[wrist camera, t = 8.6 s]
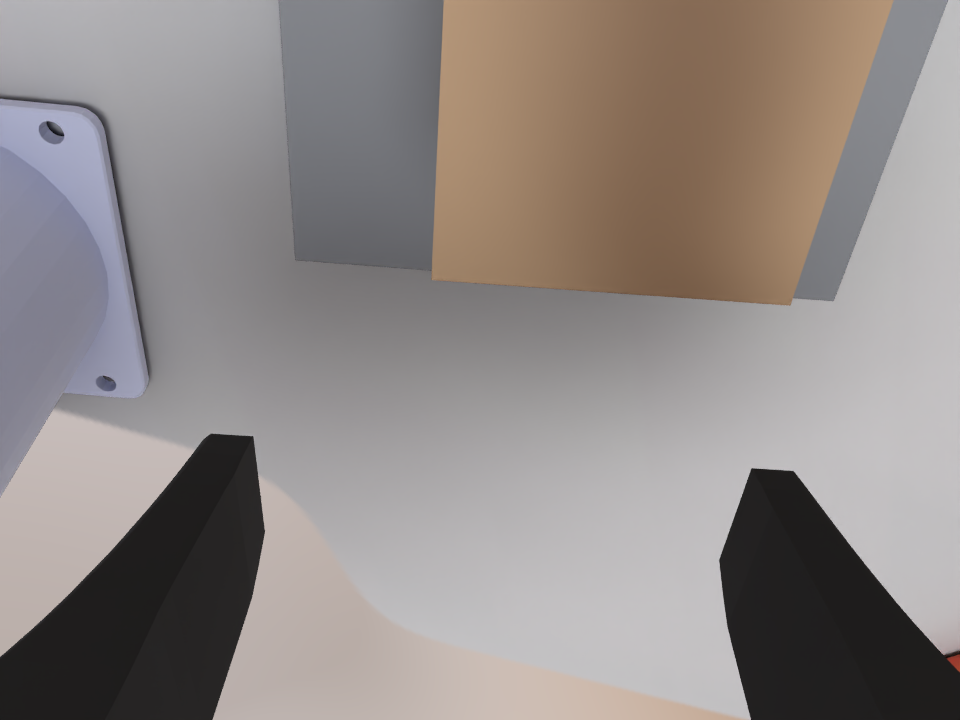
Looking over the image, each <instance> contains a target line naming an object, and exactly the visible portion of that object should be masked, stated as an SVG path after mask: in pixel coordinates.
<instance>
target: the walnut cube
mask: <svg viewBox="0 0 960 720" xmlns="http://www.w3.org/2000/svg"><path fill="white" fill-rule="evenodd" d="M893 1H894V0H444V7H443V29H442V52H441V75H440V97H439V120H438V142H437V165H436V188H435V210H434V233H433V255H432V278H431V280H438V281H452V282H466V283H481V284H495V285H509V286H523V287H537V288H551V289H565V290H579V291H593V292H607V293H621V294H636V295H650V296H664V297H678V298H692V299H706V300H720V301H734V302H748V303H762V304H776V305H791V302H792V299H793V296H794V293H795V290H796V287H797V284H798V281H799V278H800V275H801V272H802V269H803V266H804V263H805V260H806V257H807V254H808V252H809V249H810V246H811V243H812V240H813V237H814V234H815V231H816V228H817V225H818V222H819V219H820V216H821V213H822V210H823V207H824V204H825V201H826V198H827V195H828V193H829V190H830V187H831V184H832V181H833V178H834V175H835V172H836V169H837V166H838V163H839V160H840V157H841V154H842V151H843V148H844V145H845V142H846V139H847V137H848V134H849V131H850V128H851V125H852V122H853V119H854V116H855V113H856V110H857V107H858V104H859V101H860V98H861V95H862V92H863V89H864V86H865V83H866V80H867V78H868V75H869V72H870V69H871V66H872V63H873V60H874V57H875V54H876V51H877V48H878V45H879V42H880V39H881V36H882V33H883V30H884V27H885V24H886V22H887V19H888V16H889V13H890V10H891V7H892V4H893Z"/></svg>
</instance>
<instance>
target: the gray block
mask: <svg viewBox="0 0 960 720" xmlns="http://www.w3.org/2000/svg"><path fill="white" fill-rule="evenodd" d="M947 2H948V0H894V1H893V4H892V7H891V10H890V13H889V16H888V19H887V22H886V24H885V27H884V30H883V33H882V36H881V39H880V42H879V45H878V48H877V51H876V54H875V57H874V60H873V63H872V66H871V69H870V72H869V75H868V78H867V80H866V83H865V86H864V89H863V92H862V95H861V98H860V101H859V104H858V107H857V110H856V113H855V116H854V119H853V122H852V125H851V128H850V131H849V134H848V137H847V139H846V142H845V145H844V148H843V151H842V154H841V157H840V160H839V163H838V166H837V169H836V172H835V175H834V178H833V181H832V184H831V187H830V190H829V193H828V195H827V198H826V201H825V204H824V207H823V210H822V213H821V216H820V219H819V222H818V225H817V228H816V231H815V234H814V237H813V240H812V243H811V246H810V249H809V252H808V254H807V257H806V260H805V263H804V266H803V269H802V272H801V275H800V278H799V281H798V284H797V287H796V290H795V293H794V296H793V298H798V299H811V300H824V301H834V299H835V296H836V294H837V291H838V288H839V286H840V283H841V280H842V278H843V275H844V273H845V270H846V267H847V265H848V262H849V259H850V257H851V254H852V252H853V249H854V246H855V244H856V241H857V238H858V236H859V233H860V231H861V228H862V225H863V223H864V220H865V217H866V215H867V212H868V210H869V207H870V204H871V202H872V199H873V196H874V194H875V191H876V188H877V186H878V183H879V181H880V178H881V175H882V173H883V170H884V167H885V165H886V162H887V160H888V157H889V154H890V152H891V149H892V146H893V144H894V141H895V139H896V136H897V133H898V131H899V128H900V125H901V123H902V120H903V117H904V115H905V112H906V110H907V107H908V104H909V102H910V99H911V96H912V94H913V91H914V89H915V86H916V83H917V81H918V78H919V75H920V73H921V70H922V68H923V65H924V62H925V60H926V57H927V54H928V52H929V49H930V47H931V44H932V41H933V39H934V36H935V33H936V31H937V28H938V25H939V23H940V20H941V18H942V15H943V12H944V10H945V7H946V4H947ZM443 7H444V0H279V13H280V28H281V44H282V60H283V76H284V91H285V107H286V123H287V139H288V154H289V170H290V186H291V201H292V217H293V233H294V249H295V260H299V261H312V262H325V263H339V264H352V265H365V266H378V267H391V268H404V269H417V270H430V271H432V255H433V233H434V210H435V188H436V165H437V142H438V120H439V97H440V75H441V52H442V29H443Z"/></svg>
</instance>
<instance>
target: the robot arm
mask: <svg viewBox="0 0 960 720" xmlns="http://www.w3.org/2000/svg"><path fill="white" fill-rule="evenodd" d="M46 121H51V122H54V123H56V124H57V125H59V126H60V127H61V128H62V130H63V132H64V136H62V137H61V136H58V135H55V134H54V133H52V132H51V131H50V130H49V128H48V126H47V124H46ZM103 376H107V377H110V378H111V379H113V380H114V381H115V382H112V381H108V380H106V379H105V378H104V377H103ZM148 382H149V377H148V371H147V366H146V360H145V354H144V349H143V343H142V338H141V332H140V326H139V321H138V315H137V309H136V304H135V298H134V293H133V287H132V281H131V276H130V270H129V265H128V259H127V253H126V248H125V242H124V236H123V231H122V225H121V220H120V214H119V208H118V203H117V197H116V192H115V186H114V180H113V175H112V169H111V163H110V158H109V152H108V147H107V141H106V135H105V130H104V127H103V125H102V122H101V121H100V120H99V118H98V117H97V116H96V115H95V114H94V113H92V112H91V111H89V110H88V109H86V108H82V107H78V106H70V105H60V104H49V103H39V102H28V101H18V100H7V99H0V497H1V495H2V493H3V492H4V490H5V488H6V487H7V485H8V484H9V482H10V480H11V478H12V477H13V475H14V474H15V472H16V470H17V468H18V467H19V465H20V464H21V462H22V460H23V459H24V457H25V455H26V454H27V452H28V450H29V448H30V447H31V445H32V444H33V442H34V440H35V439H36V437H37V435H38V433H39V432H40V430H41V429H42V427H43V425H44V424H45V422H46V420H47V419H48V417H49V415H50V413H51V412H52V410H53V409H54V407H55V405H56V404H57V402H58V400H59V399H60V397H61V395H62V393H70V394H82V395H93V396H105V397H117V398H137V397H139V396H141V395H142V394H143V393H144V391H145V390H146V388H147V386H148ZM264 534H265V530H264V522H263V513H262V505H261V496H260V488H259V480H258V472H257V463H256V455H255V447H254V439H253V436H238V435H222V434H210V435H209V436H207V437H206V438H205V439H203V441H202V442H201V443H200V445H199V446H198V447H197V449H196V450H195V451H194V453H193V454H192V455H191V457H190V458H189V459H188V461H187V462H186V463H185V465H184V466H183V467H182V468H181V470H180V471H179V472H178V473H177V475H176V476H175V477H174V478H173V480H172V481H171V482H170V483H169V485H168V486H167V487H166V488H165V490H164V491H163V492H162V493H161V494H160V495H159V497H158V498H157V499H156V500H155V502H154V503H153V504H152V505H151V506H150V508H149V509H148V510H147V511H146V512H145V513H144V514H143V515H142V517H141V518H140V519H139V520H138V521H137V522H136V524H135V525H134V526H133V527H132V528H131V529H130V530H129V532H128V533H127V534H126V535H125V536H124V538H123V539H121V541H120V542H119V543H118V544H117V545H116V546H115V547H114V548H113V550H112V551H111V552H110V553H109V554H108V555H107V556H106V557H105V558H104V559H103V560H102V561H101V562H100V563H99V564H98V565H97V566H96V567H95V568H94V569H93V570H92V571H91V572H90V573H89V575H87V576H86V577H85V579H84V580H83V581H82V582H81V583H80V584H79V585H78V586H77V587H76V588H75V589H74V590H73V591H72V592H71V593H70V594H69V595H68V596H67V597H66V598H65V599H64V600H63V601H62V602H61V603H60V604H59V605H57V606H56V607H55V608H54V609H53V610H52V611H51V612H50V613H49V614H48V615H47V616H46V617H45V618H44V619H43V620H42V621H40V622H39V623H38V624H37V625H36V626H35V627H34V628H33V629H32V630H31V631H29V633H27V634H26V635H25V636H24V637H23V638H22V639H20V640H19V641H18V642H17V643H16V644H15V645H14V646H13V647H11V648H10V649H9V650H8V651H7V652H6V653H4V654H3V655H2V656H1V657H0V720H212V719H213V716H214V713H215V710H216V707H217V704H218V701H219V698H220V695H221V692H222V689H223V686H224V682H225V680H226V677H227V673H228V670H229V667H230V664H231V661H232V658H233V655H234V652H235V649H236V646H237V643H238V640H239V637H240V633H241V630H242V627H243V624H244V621H245V617H246V615H247V612H248V608H249V605H250V602H251V599H252V595H253V590H254V585H255V580H256V575H257V570H258V566H259V560H260V555H261V549H262V544H263V539H264ZM719 562H720V571H721V580H722V589H723V597H724V604H725V612H726V619H727V626H728V630H729V634H730V638H731V643H732V647H733V651H734V654H735V658H736V662H737V666H738V670H739V674H740V678H741V682H742V686H743V690H744V694H745V698H746V701H747V705H748V709H749V713H750V717H751V720H960V672H959V671H958V670H957V669H956V668H955V667H954V666H953V665H952V664H951V663H950V662H949V661H948V660H947V659H946V658H945V656H944V655H943V654H942V653H941V652H940V651H939V650H938V649H937V648H936V647H935V646H934V645H933V643H932V642H931V641H930V640H929V639H928V638H927V637H926V636H925V635H924V634H923V632H922V631H921V630H920V629H919V628H918V627H917V626H916V625H915V624H914V622H913V621H912V620H911V619H910V618H909V617H908V616H907V614H906V613H905V612H904V611H903V610H902V609H901V607H900V606H899V605H898V604H897V603H896V602H895V600H894V599H893V598H892V597H891V595H890V594H889V593H888V592H887V591H886V589H885V588H884V587H883V586H882V584H881V583H880V582H879V581H878V580H877V578H876V577H875V576H874V575H873V573H872V572H871V571H870V570H869V569H868V567H867V566H866V565H865V564H864V562H863V561H862V560H861V559H860V557H859V556H858V555H857V554H856V552H855V551H854V550H853V548H852V547H851V546H850V545H849V543H848V542H847V541H846V539H845V538H844V537H843V535H842V534H841V533H840V532H839V530H838V529H837V528H836V526H835V525H834V524H833V522H832V521H831V520H830V518H829V517H828V516H827V514H826V513H825V512H824V510H823V509H822V508H821V506H820V505H819V504H818V502H817V501H816V500H815V498H814V497H813V496H812V495H811V493H810V492H809V491H808V489H807V488H806V487H805V485H804V484H803V483H802V481H801V480H800V479H799V478H798V476H797V475H796V474H795V472H794V471H784V470H768V469H753V468H752V469H751V472H750V474H749V477H748V480H747V483H746V486H745V489H744V492H743V494H742V497H741V500H740V503H739V506H738V509H737V511H736V514H735V517H734V520H733V523H732V526H731V528H730V531H729V534H728V537H727V540H726V543H725V545H724V548H723V551H722V554H721V557H720V560H719Z"/></svg>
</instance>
